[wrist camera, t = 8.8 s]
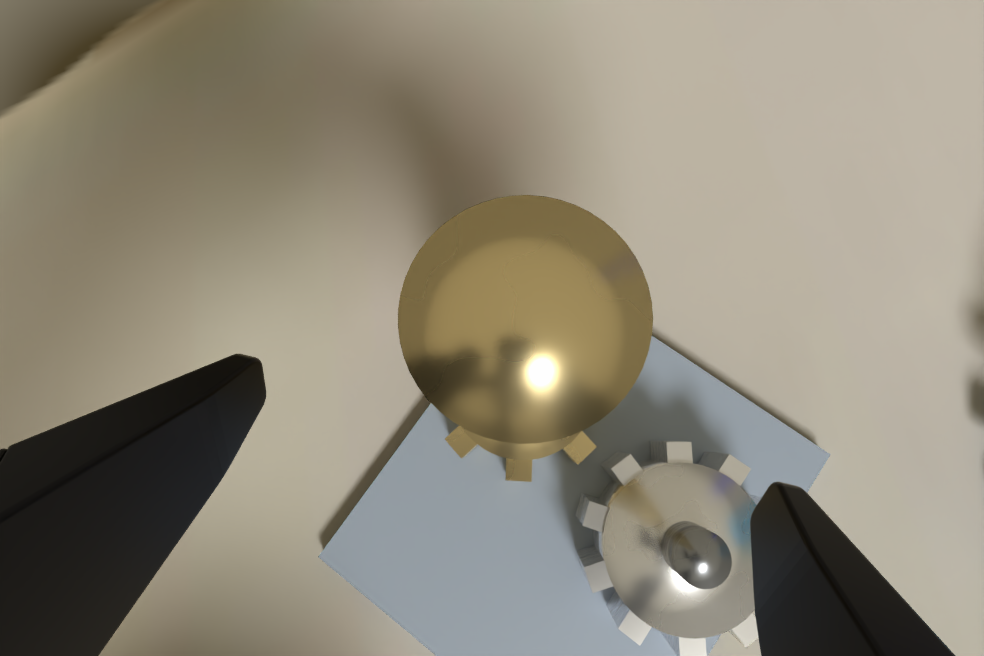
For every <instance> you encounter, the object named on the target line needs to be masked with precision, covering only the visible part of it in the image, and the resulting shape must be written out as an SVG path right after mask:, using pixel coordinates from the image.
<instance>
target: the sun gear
mask: <svg viewBox="0 0 984 656" xmlns="http://www.w3.org/2000/svg"><path fill="white" fill-rule="evenodd" d="M650 455H651V459H650V460H646V461H642V462H639V463H637V462H636V461H635V459H634V458H633V457H632V455H631V454H628V453H623V452H616V453H615V454H614V455H612V456H611V457H610V458H608V459H607V460H606V461H605V462H603V463H602V464H601V466H602V467H603V468H604V470H605V471H606V472H607V474H608V475H609V476H610V478H611V479H612V480H611V481H610V482H609V484H608V485H607V486H606V488H605V489H604V491H603V493H602V494H601V496H600V498H599V499H598V498H595V497H592V496H589V495H586V494H583V493H581V496H580V500H579V504H578V507H577V511H576V514H575V515H576V516H577V518H578V519H579V521H580V522H581V524H582V525H583V526H585V527H588V528H591V529H593V540H594V545H593V546H590V547H587V548H584V549H581V550H578V551H577V554H578V557H579V560H580V563H581V566H582V569H583V572H584V575H585V577H586V579H587V581H588V584H589V586H590V588H591V590H592V593H595V592H598V591H601V590H604V589H607V588H610V587H614V589H615V590H616V591H615V592H614V594H613V595H612V597H611V598H610V600H609V601H608V603H607V604H606V606H607V608H608V610H609V612H610V614H611V616H612V618H613V620H614V622H615V624H616V626H617V628H618V629H619V630H620V631H621V632H623V633H624V634H625V635H627V636H628V637H629V638H631V639H632V640H633V641H634V642H636V643H637V644H638V645H641V644H642V642H643V640H644V639H645V637H646V636H647V634H648V632H649V631H650V629H651V628H652V627H653V628H655V629H657V630H659V631H661V634H662V635H663V637H664V638H665V639H666V641H667V642H668V644H669V645H670V647H671V648H672V649H673V651H674V652H675V654H676V655H677V656H707V653H706V639H705V638H708V637H712V636H716V635H719V634H722V633H725V632H727V631H729V632H730V633H731V634H732V635H733V636H734V637H735V638H736V639H737V640H738V641H739V642H740V643H741V644H742V645H743V646H745V647H748V646H749V645H750V644H751V643H753V642H754V641H755V640H756V639H757V638H759V637H758V631H757V624H756V617H755V616H754V615H753V613H752V612H753V611H754V610H755V606H754V591H753V572H752V553H751V533H750V520H751V515H752V512H753V510H754V509H755V507H756V506H757V504H758V502H759V501H760V499H761V498H762V497H758V496H754V495H751V494H748V493H747V492H746V491H745V490H744V489H743V488H742V487H741V485H742V483H743V481H744V480H745V478H746V477H747V475H748V473H749V472H750V470H751V468H749V467H748V466H746V465H745V464H743V463H742V462H740V461H739V460H737V459H736V458H735V457H733V456H732V455H730V454H725V453H715V452H706V451H705V453H704V454H703V456H702V457H701V459H700V460H699V462H698V463H697V464H693V458H692V444H691V442H685V441H650Z"/></svg>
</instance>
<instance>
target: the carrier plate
mask: <svg viewBox="0 0 984 656" xmlns="http://www.w3.org/2000/svg"><path fill="white" fill-rule="evenodd" d="M458 426H459V425H457V424H456V423H454V422H453V421H451V420H450V419H449V418H447V417H446V416H445V415H443V414H442V413H441V412H440V411H439V410H438V409H437V408H436V407H435V406H434V405H433V404H432V403H431V404H430V405H429V406H428V408H427V409H426V410H425V412H424V413H423V415H422V416H421V417H420V419H419V420H418V421H417V423H416V424H415V425H414V427H413V428H412V430H411V431H410V432H409V434H408V435H407V436H406V438H405V439H404V440H403V442H402V443H401V445H400V446H399V447H398V449H397V450H396V451H395V453H394V454H393V455H392V457H391V458H390V460H389V461H388V462H387V464H386V465H385V466H384V468H383V469H382V470H381V472H380V473H379V475H378V476H377V477H376V479H375V480H374V481H373V483H372V484H371V485H370V487H369V488H368V490H367V491H366V492H365V494H364V495H363V496H362V498H361V499H360V500H359V502H358V503H357V505H356V506H355V507H354V509H353V510H352V511H351V513H350V514H349V515H348V517H347V518H346V520H345V521H344V522H343V524H342V525H341V526H340V528H339V529H338V530H337V532H336V533H335V535H334V536H333V537H332V539H331V540H330V541H329V543H328V544H327V545H326V547H325V548H324V550H323V551H322V552H321V554H320V555H319V556H318V557H319V558H320V559H321V560H322V561H324V562H325V563H326V564H327V565H328V566H330V567H331V568H332V569H333V570H334V571H336V572H337V573H338V574H339V575H340V576H342V577H343V578H344V579H345V580H346V581H348V582H349V583H350V584H351V585H352V586H353V587H355V588H356V589H357V590H358V591H359V592H361V593H362V594H363V595H364V596H365V597H367V598H368V599H369V600H370V601H371V602H373V603H374V604H375V605H376V606H377V607H379V608H380V609H381V610H382V611H383V612H385V613H386V614H387V615H388V616H389V617H391V618H392V619H393V620H394V621H395V622H397V623H398V624H399V625H400V626H401V627H403V628H404V629H405V630H406V631H407V632H409V633H410V634H411V635H412V636H413V637H415V638H416V639H417V640H418V641H419V642H420V643H422V644H423V645H424V646H425V647H426V648H428V649H429V650H430V651H431V652H432V653H434V654H435V655H436V656H677V655H676V654H675V652H674V651H673V649H672V648H671V647H670V645H669V644H668V642H667V641H666V639H665V638H664V637H663V635H662V634H661V631H659V630H657V629H655V628H653V627H652V628H651V629H650V631H649V632H648V634H647V636H646V637H645V639H644V640H643V642H642V644H641V645H638V644H637V643H636V642H634V641H633V640H632V639H631V638H629V637H628V636H627V635H625V634H624V633H623V632H621V631H620V630H619V629H618V628H617V626H616V624H615V622H614V620H613V618H612V616H611V614H610V612H609V610H608V608H607V606H606V604H607V603H608V601H609V600H610V598H611V597H612V595H613V594H614V592H615V591H616V590H615V589H614V587H610V588H607V589H604V590H601V591H598V592H595V593H592V590H591V588H590V586H589V584H588V581H587V579H586V577H585V575H584V572H583V569H582V566H581V563H580V560H579V557H578V554H577V551H578V550H581V549H584V548H587V547H590V546H593V545H594V540H593V529H591V528H588V527H585V526H583V525H582V524H581V522H580V521H579V519H578V518H577V516H576V515H575V514H576V511H577V507H578V504H579V500H580V496H581V493H583V494H586V495H589V496H592V497H595V498H598V499H599V498H600V496H601V494H602V493H603V491H604V489H605V488H606V486H607V485H608V484H609V482H610V481H611V480H612V479H611V478H610V476H609V475H608V474H607V472H606V471H605V470H604V468H603V467H602V466H601V464H602V463H603V462H605V461H606V460H607V459H608V458H610V457H611V456H612V455H614V454H615V453H616V452H623V453H628V454H631V455H632V457H633V458H634V459H635V461H636V462H637V463H639V462H642V461H646V460H650V459H651V455H650V441H685V442H691V444H692V458H693V464H697V463H698V462H699V460H700V459H701V457H702V456H703V454H704V453H705V451H706V452H715V453H725V454H730V455H732V456H733V457H735V458H736V459H737V460H739V461H740V462H742V463H743V464H745V465H746V466H748V467H749V468H751V470H750V472H749V473H748V475H747V477H746V478H745V480H744V481H743V483H742V485H741V487H742V488H743V489H744V490H745V491H746V492H747V493H748V494H751V495H754V496H758V497H762V496H763V495H764V493H765V492H766V490H767V489H768V487H769V486H770V485H771V484H772V483H773V482H783V483H787V484H791V485H796V486H799V487H801V488H802V489H804V490H805V491H806V492H808V491H809V489H810V487H811V486H812V484H813V482H814V481H815V479H816V477H817V476H818V474H819V472H820V471H821V469H822V468H823V466H824V464H825V463H826V461H827V459H828V458H829V456H830V454H829V453H827V452H826V451H824V450H823V449H821V448H820V447H818V446H817V445H815V444H814V443H812V442H811V441H809V440H808V439H806V438H805V437H803V436H802V435H800V434H799V433H797V432H796V431H794V430H793V429H791V428H790V427H788V426H787V425H785V424H784V423H782V422H781V421H779V420H778V419H776V418H775V417H773V416H772V415H770V414H769V413H767V412H766V411H764V410H763V409H761V408H760V407H758V406H757V405H755V404H754V403H752V402H751V401H749V400H748V399H746V398H745V397H743V396H742V395H740V394H739V393H737V392H736V391H734V390H733V389H731V388H730V387H728V386H727V385H725V384H724V383H722V382H721V381H719V380H718V379H716V378H715V377H713V376H712V375H710V374H709V373H707V372H706V371H704V370H703V369H701V368H700V367H698V366H697V365H695V364H694V363H692V362H691V361H689V360H688V359H686V358H685V357H683V356H682V355H680V354H679V353H677V352H676V351H674V350H673V349H671V348H670V347H668V346H667V345H665V344H664V343H662V342H661V341H659V340H658V339H656V338H655V337H653V336H652V337H651V342H650V347H649V352H648V355H647V358H646V361H645V363H644V366H643V369H642V371H641V373H640V375H639V376H638V378H637V380H636V382H635V384H634V385H633V387H632V388H631V390H630V391H629V392H628V394H627V395H626V397H625V398H624V399H623V400H622V401H621V402H620V403H619V404H618V405H617V406H616V407H615V409H613V410H612V411H611V412H610V413H609V414H607V415H606V416H605V417H604V418H603V419H601V420H600V421H598V422H597V423H595V424H593V425H592V426H590V427H588V428H587V429H585V430H583V432H584V433H585V434H586V436H587V437H588V438H589V439H590V440H591V441H592V442H593V443H594V444H595V445H596V446H597V447H596V448H595V449H594V450H593V451H592V452H591V453H590V454H589V455H588V456H587V457H586V458H585V459H584V460H583V461H582V462H581V463H579V464H578V465H577V464H576V463H574V462H573V461H572V460H571V459H570V458H569V456H568V455H567V454H566V453H565V452H564V451H563V450H562V449H561V450H560V451H558V452H556V453H554V454H552V455H549V456H546V457H543V458H539V459H533V460H532V482H525V481H507V480H505V478H506V458H504V457H500V456H497V455H495V454H492V453H490V452H488V451H487V450H485V449H483V448H482V447H480V446H479V445H478V446H476V447H475V448H474V449H473V450H472V451H471V452H470V453H469V454H468V455H467V456H466V457H464V458H460V457H459V455H458V454H457V453H456V452H455V451H454V450H453V448H452V447H451V446H450V445H449V444H448V443H447V442H446V440H445V438H446V437H447V436H448V435H449V434H450V433H451V432H452V431H454V430H455V429H456V428H457V427H458ZM720 635H721V634H719V635H716V636H712V637H708V638H705V639H706V653H707V656H708V655H709V653H710V651H711V650H712V648H713V646H714V645H715V643H716V642H717V640H718V638H719V637H720Z"/></svg>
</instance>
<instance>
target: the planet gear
mask: <svg viewBox="0 0 984 656" xmlns="http://www.w3.org/2000/svg"><path fill="white" fill-rule="evenodd" d="M652 326H653V313H652V301H651V297H650V292H649V287H648V284H647V281H646V279H645V276H644V273H643V270H642V268H641V267H640V265H639V263H638V261H637V259H636V257H635V255H634V254H633V252H632V251H631V250H630V248H629V247H628V245H627V244H626V243H625V241H624V240H623V239H622V238H621V237H620V236H619V235H618V234H617V233H616V232H615V231H614V230H613V229H612V228H611V227H610V226H608V225H607V224H606V223H605V222H604V221H602V220H601V219H599V218H598V217H596V216H595V215H593V214H592V213H590V212H588V211H586V210H584V209H582V208H580V207H578V206H576V205H574V204H571V203H568V202H565V201H562V200H558V199H554V198H549V197H544V196H532V195H521V196H508V197H502V198H496V199H493V200H489V201H486V202H482V203H480V204H477V205H475V206H473V207H470V208H468V209H466V210H464V211H463V212H461V213H459V214H458V215H456V216H454V217H453V218H451V219H450V220H449V221H447V222H446V223H445V224H443V225H442V226H441V227H440V228H439V229H438V230H437V231H436V232H435V233H434V234H433V235H432V236H431V237H430V238H429V239H428V240H427V241H426V243H425V244H424V245H423V246H422V248H421V249H420V250H419V252H418V254H417V255H416V257H415V259H414V260H413V262H412V264H411V266H410V268H409V271H408V273H407V275H406V277H405V280H404V284H403V287H402V291H401V295H400V302H399V308H398V329H399V338H400V344H401V348H402V352H403V356H404V359H405V361H406V364H407V366H408V369H409V371H410V373H411V375H412V377H413V379H414V380H415V382H416V384H417V386H418V387H419V389H420V390H421V391H422V393H423V394H424V395H425V396H426V398H427V399H428V400H429V401H430V402H431V403H432V404H433V405H434V406H435V407H436V408H437V409H438V410H439V411H440V412H441V413H442V414H443V415H445V416H446V417H447V418H449V419H450V420H451V421H453V422H454V423H456V424H457V425H459V426H458V427H457V428H456V429H455V430H454V431H452V432H451V433H450V434H449V435H448V436H447V437H446V438H445V440H446V442H447V443H448V444H449V445H450V446H451V447H452V448H453V450H454V451H455V452H456V453H457V454H458V455H459V457H460V458H464V457H466V456H467V455H468V454H469V453H470V452H471V451H472V450H473V449H474V448H475V447H476V446H478V445H479V446H480V447H482V448H483V449H485V450H487V451H488V452H490V453H492V454H495V455H497V456H500V457H504V458H506V478H505V480H507V481H525V482H532V460H533V459H539V458H543V457H546V456H549V455H552V454H554V453H556V452H558V451H560V450H561V449H562V450H563V451H564V452H565V453H566V454H567V455H568V456H569V458H570V459H571V460H572V461H573V462H574V463H576V464H577V465H578V464H579V463H581V462H582V461H583V460H584V459H585V458H586V457H587V456H588V455H589V454H590V453H591V452H592V451H593V450H594V449H595V448H596V447H597V446H596V445H595V444H594V443H593V442H592V441H591V440H590V439H589V438H588V437H587V436H586V434H585V433H584V432H583V430H585V429H587V428H588V427H590V426H592V425H593V424H595V423H597V422H598V421H600V420H601V419H603V418H604V417H605V416H606V415H607V414H609V413H610V412H611V411H612V410H613V409H615V407H616V406H617V405H618V404H619V403H620V402H621V401H622V400H623V399H624V398H625V397H626V395H627V394H628V392H629V391H630V390H631V388H632V387H633V385H634V384H635V382H636V380H637V378H638V376H639V375H640V373H641V371H642V369H643V366H644V363H645V361H646V358H647V355H648V352H649V347H650V342H651V337H652Z"/></svg>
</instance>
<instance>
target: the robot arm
mask: <svg viewBox="0 0 984 656" xmlns="http://www.w3.org/2000/svg"><path fill="white" fill-rule="evenodd" d="M265 399H266V387H265V380H264V374H263V367H262V363H261V361H260V360H259V359H258V358H256V357H251V356H247V355H243V354H234V355H231V356H229V357H227V358H224V359H222V360H219V361H217V362H214V363H212V364H209V365H207V366H204V367H202V368H200V369H197V370H195V371H192V372H190V373H187V374H185V375H182V376H180V377H178V378H175V379H173V380H170V381H168V382H165V383H163V384H160V385H158V386H155V387H153V388H151V389H148V390H146V391H143V392H141V393H138V394H136V395H133V396H131V397H128V398H126V399H124V400H121V401H119V402H116V403H114V404H111V405H109V406H106V407H104V408H102V409H99V410H97V411H94V412H92V413H89V414H87V415H84V416H82V417H79V418H77V419H74V420H72V421H70V422H67V423H65V424H62V425H60V426H57V427H55V428H52V429H50V430H47V431H45V432H43V433H40V434H38V435H35V436H33V437H30V438H28V439H25V440H23V441H20V442H18V443H16V444H13V445H11V446H9V448H8V449H1V450H0V656H99V654H100V653H101V651H102V650H103V648H104V647H105V646H106V644H107V643H108V641H109V640H110V638H111V637H112V636H113V634H114V633H115V631H116V630H117V628H118V627H119V626H120V624H121V623H122V621H123V620H124V618H125V617H126V616H127V614H128V613H129V611H130V610H131V608H132V607H133V606H134V604H135V603H136V601H137V600H138V598H139V597H140V596H141V594H142V593H143V591H144V590H145V588H146V587H147V586H148V584H149V583H150V581H151V580H152V578H153V577H154V576H155V574H156V573H157V571H158V570H159V568H160V567H161V566H162V564H163V563H164V561H165V560H166V558H167V557H168V556H169V554H170V553H171V551H172V550H173V549H174V547H175V546H176V544H177V543H178V541H179V540H180V539H181V537H182V536H183V534H184V533H185V531H186V530H187V529H188V527H189V526H190V524H191V523H192V521H193V520H194V519H195V517H196V516H197V514H198V513H199V511H200V510H201V509H202V507H203V506H204V504H205V503H206V501H207V500H208V499H209V497H210V496H211V494H212V493H213V491H214V490H215V489H216V487H217V486H218V484H219V483H220V481H221V480H222V478H223V477H224V475H225V473H226V472H227V470H228V468H229V467H230V465H231V463H232V461H233V459H234V458H235V456H236V454H237V452H238V450H239V449H240V447H241V445H242V443H243V441H244V439H245V438H246V436H247V434H248V432H249V430H250V429H251V427H252V425H253V423H254V421H255V420H256V418H257V416H258V414H259V412H260V410H261V409H262V407H263V405H264V402H265ZM750 533H751V553H752V572H753V591H754V606H755V617H756V624H757V631H758V637H759V643H760V649H761V655H762V656H955V655H954V654H953V653H952V652H951V651H950V649H949V648H948V647H947V646H946V645H945V644H944V643H943V642H942V641H941V640H940V638H939V637H938V636H937V635H936V634H935V633H934V632H933V631H932V630H931V629H930V627H929V626H928V625H927V624H926V623H925V622H924V621H923V620H922V619H921V618H920V616H919V615H918V614H917V613H916V612H915V611H914V610H913V609H912V608H911V607H910V605H909V604H908V603H907V602H906V601H905V600H904V599H903V598H902V597H901V596H900V594H899V593H898V592H897V591H896V590H895V589H894V588H893V587H892V586H891V585H890V584H889V582H888V581H887V580H886V579H885V578H884V577H883V576H882V575H881V574H880V573H879V571H878V570H877V569H876V568H875V567H874V566H873V565H872V564H871V563H870V562H869V560H868V559H867V558H866V557H865V556H864V555H863V554H862V553H861V552H860V551H859V549H858V548H857V547H856V546H855V545H854V544H853V543H852V542H851V541H850V540H849V538H848V537H847V536H846V535H845V534H844V533H843V532H842V531H841V530H840V529H839V527H838V526H837V525H836V524H835V523H834V522H833V521H832V520H831V519H830V518H829V517H828V515H827V514H826V513H825V512H824V511H823V510H822V509H821V508H820V507H819V506H818V504H817V503H816V502H815V501H814V500H813V499H812V498H811V497H810V496H809V495H808V493H807V492H806V491H805V490H804V489H802V488H801V487H799V486H796V485H791V484H787V483H783V482H773V483H772V484H771V485H770V486H769V487H768V489H767V490H766V492H765V493H764V495H763V496H762V498H761V499H760V501H759V502H758V504H757V506H756V507H755V509H754V510H753V512H752V515H751V520H750Z"/></svg>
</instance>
